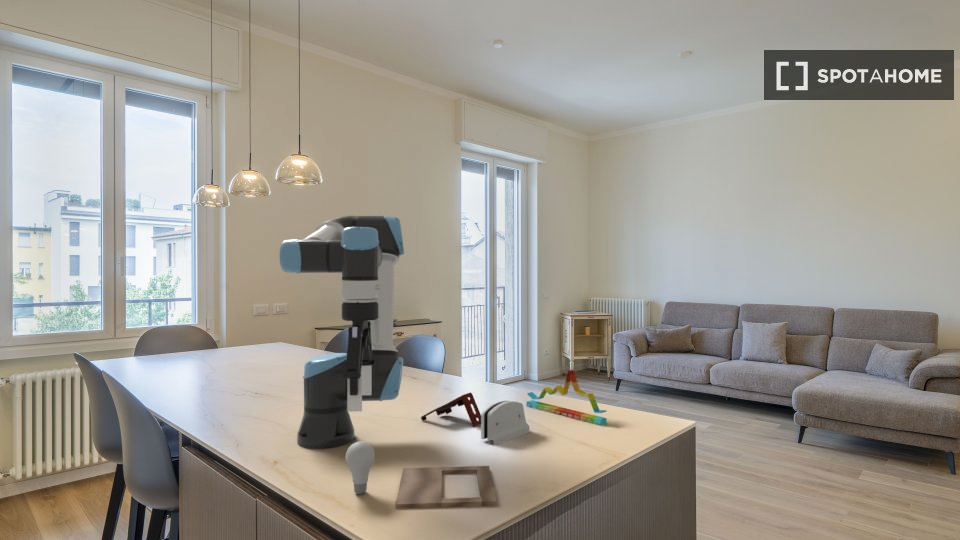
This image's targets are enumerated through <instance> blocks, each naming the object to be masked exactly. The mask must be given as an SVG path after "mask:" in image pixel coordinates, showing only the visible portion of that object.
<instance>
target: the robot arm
mask: <svg viewBox="0 0 960 540" xmlns="http://www.w3.org/2000/svg"><path fill="white" fill-rule="evenodd" d="M404 254H405V248H404V241H403V232H402V227H401V221H400V218H398V217H397V216H392V215H391V216H389V215H344V216H339V217H336V218H333V219H329V220H326V221H324V222H322V223H321V224H319V225H318V226H317V227H316V229H315V230H314V232H313V233H311V234H310V235H308V236H307V237H305V238H303V239H298V238H294V239H285V240H283V241H282V242H281V244H280V248H279V264H280V268H281V269H282V271H284V272H285V273H287V274H288V273H291V274H292V273H294V274H298V275H300V274H308V273H309V274H315V273H316V274H319V273H320V274H321V273H322V274H323V273H324V274H325V273H327V274H328V273H329V274H332V273H335V274H336V273H337V274H338V273H339V274H341V287H340V288H341V289H340V290H341V294H340V295H341V300H343V301H344V302H342V303H341V319H342V320H343V321H346V322H350V321H351V322H352V326H348V330H347V332H348V335H347V336H348V338H347V351H346V353H345V352H335V353H327V354H324V355H318V356H315V357H314V356H313V357H311V358H310V359H307V361H306V362H304V363H305V364H304V367H303V375H302V378H303V416H302V418H301V422H300V425H299V428H298V431H297V435H296V436H297V437H296V438H297V439H296V441H297V442H296V443H297V445H299V446H300V447H303V448H307V449H329V448H335V447H341V446H344V445H346V444H349V443H351V442H352V441H353V440H354V439H355V427H354V425H353V424H354V423H353V422H352V419H351V415H350V412H362V411H363V402H376V401H377V402H378V401H379V402H383V401H390V400H392V401H393V400H395V399H396V398H397V397H398V396H399V392H400V390H401V385H402V383H401V382H402V375H403V367H404V358H403V357H401V356H399V350H398V349H396V347H395V346H394V294H395V293H394V292H395V291H394V290H395V289H394V285H395V275H394V273H395V265H396V264H398V263H399V261H400V256H402V255H404Z"/></svg>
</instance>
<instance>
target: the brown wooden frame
mask: <svg viewBox="0 0 960 540" xmlns="http://www.w3.org/2000/svg"><path fill="white" fill-rule="evenodd" d="M461 474H463V475H465V474H468V475H469V474H472V475H473V474H476V477H477V484H478V489H479V497H452V498H451V497H450V498H449V497H446V498H445V497H444V498H443V497H442V493H443V491H442V490H443V486H442V485H443V475H461ZM494 486H495V485H494V482H493V478H492V472H491V469H490V466H489V465H471V466H469V465H468V466H435V467H434V466H433V467H431V466H430V467H427V466H426V467H403V468H402V472H401V476H400V482H399V487H398V490H397V491H398V492H397V495H396V500H395V509H424V508H425V509H427V508H429V509H430V508H463V507H466V508H467V507H469V508H471V507H497V506H498V500H497V497H496V496H497V495H496V490H495V487H494Z"/></svg>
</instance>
